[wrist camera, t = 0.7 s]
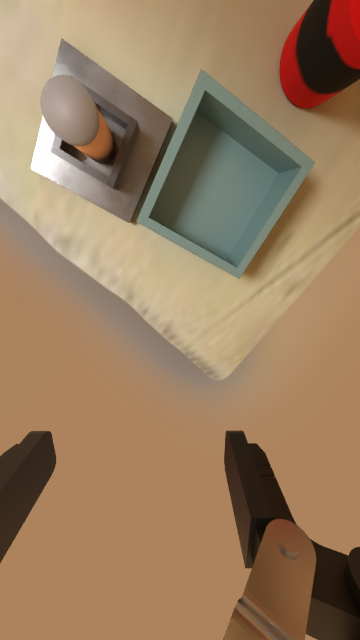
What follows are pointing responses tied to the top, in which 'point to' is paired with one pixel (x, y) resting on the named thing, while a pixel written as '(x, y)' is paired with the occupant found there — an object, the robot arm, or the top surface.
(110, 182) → the socket block
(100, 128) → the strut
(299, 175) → the bin
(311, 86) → the soda can
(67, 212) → the top surface
